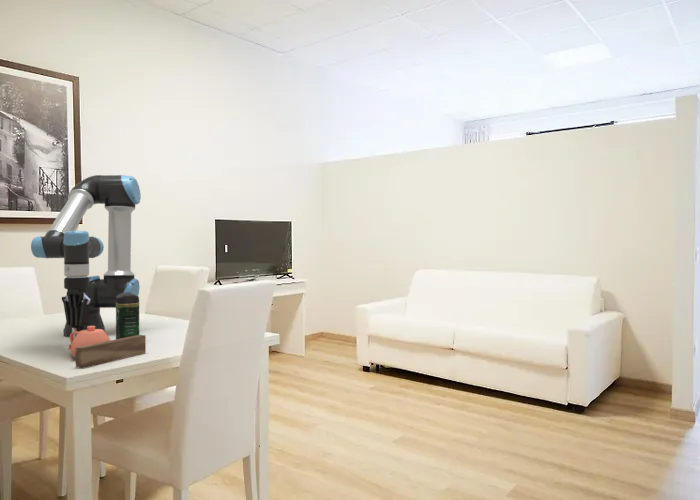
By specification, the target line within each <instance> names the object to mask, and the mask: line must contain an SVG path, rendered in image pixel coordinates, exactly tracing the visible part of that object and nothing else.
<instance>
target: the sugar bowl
mask: <svg viewBox="0 0 700 500" xmlns="http://www.w3.org/2000/svg"><path fill="white" fill-rule="evenodd" d="M87 328H88V329H87V330H82V331H74V332H72V333H71V334H70V336H69V341H70V344H69V345H68V346H67V347H68V348H67V349H68V350H69V351H70V353H71V354H72V356H73V357H74V358H76V347H81V346H85V345H90V344H95V343H100V342H105V341H110V340H111V338H110V337H109V336H108V334H107V332H106V330H105V331H104V330H102V329H95V326H88V327H87ZM75 333H76V334H77V335H76V337H75V338H74V339H73V335H74V334H75Z"/></svg>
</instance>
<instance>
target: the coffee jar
mask: <svg viewBox="0 0 700 500" xmlns="http://www.w3.org/2000/svg"><path fill="white" fill-rule="evenodd" d="M135 335H140V296H139V295H138V296H136V295H134V294H132V293H120V294H119V295H117V296H116V308H115V339H120V338H125V337H130V336H135Z"/></svg>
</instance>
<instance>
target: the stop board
mask: <svg viewBox="0 0 700 500" xmlns="http://www.w3.org/2000/svg"><path fill="white" fill-rule="evenodd" d="M146 336H147V335H145V334H139V335H135V336H130V337H125V338H120V339H116V338H115V339H112V340H111V339H110V341H105V342H100V343H95V344H90V345H85V346H81V347H76V357H75V368H78V367H79V369H85V368H89V366H90V367H93V365H94V366H99V365H101V364H106V363H109V362H110V363H111V362H113V361H114V362H115V361H117V360H118V361H119V360H123V359H126V358H130V357H134V356H139V355H143V354H146V350H147V349H146V347H147V346H146V345H147V344H146V342H147V341H146V340H147V339H146ZM84 367H85V368H84Z"/></svg>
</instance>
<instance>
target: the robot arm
mask: <svg viewBox="0 0 700 500" xmlns="http://www.w3.org/2000/svg"><path fill="white" fill-rule="evenodd" d="M141 197H142V196H141V189H140V185H139V183H138V180H137V179H136V178H135V177H134V176H133V175H125V174H120V175H119V174H118V175H115V174H111V175H110V174H109V175H107V174H106V175H103V174H99V175H98V174H97V175H95V174H94V175H91V176H88V177H86V178H83V180H80V181H79V182H78V183H76V185H74V186H73V187H72V188H71V190H70V191H69V193H68V195H67V201H66V203H65V204H64V206H63V207H62V209H61V211H59V214H57V216H56V218H55V219H54V221H53V223H52V224H51V225H50V227H49V229H48V230H47V231H46V233H45V235H44V236H42V235H41V236H40V235H39V236H35V237H33V238H32V240H31V243H30V250H31V254H32V255H33V256H34V257H35V258H37V259H38V258H39V259H63V260H64V261H63V264H64V265H63V269H64V270H63V271H64V272H63V275H64V277H65V278H63V282H64V283H63V285H64V286H63V288H64V289H65V290H66V295H65V296H61V301H62V303H63V307H64V308H63V309H64V315H65V325H64V328H63V331H62V332H63V336H65V337H70V334H71V333H72V332H74V331H82V330H87V329H88V328H87V327H88V326H95V329H102V330H104V331H105V332H106V328H105V327H106V326H105V324H104V321H103V318H102V316H101V308H103V309H105V308H108V309H109V308H111V309H114V308H115V309H116V296H117V295H119V294H120V293H132V294H134V295H136V296H139V295H140V281H139V279H137V278H135V273H133V271H132V270H131V261H132V260H131V257H132V254H131V251H132V249H131V248H132V213H133V211H135V210H136V205H138V204H140V203H141ZM97 204H102V205H104V209H105V211H107V213H108V227H107V228H108V231H107V232H108V234H107V235H108V236H107V241H108V243H107V271H106V272H104V274H103V278H101V277H100V275H92V276H90V259H95V258H97V257H99V256H101V255H102V253H103V252H104V247H105V246H104V243H103V241H102V240H101V239H100V238H98V237H96V236H93V235H92V236H90V234H89V232H88V231H86V230H76V229H77V228H78V226H79V224H80V222H81V220H83V217H85V214H86V212H87V211H88V210H89V209H91V208H92V207H93V206H94V205H97ZM76 335H77V334H76V333H75V334H74V335H73V339H74V338H75V337H76Z"/></svg>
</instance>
